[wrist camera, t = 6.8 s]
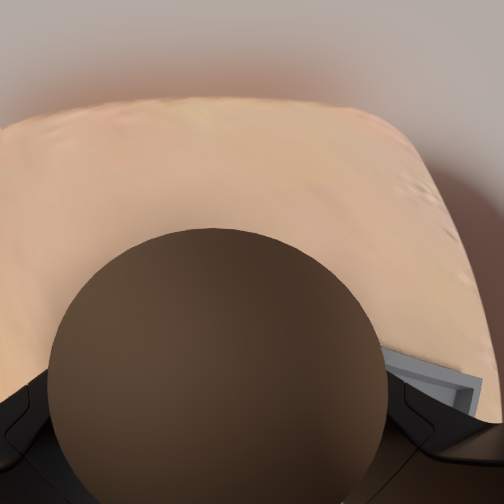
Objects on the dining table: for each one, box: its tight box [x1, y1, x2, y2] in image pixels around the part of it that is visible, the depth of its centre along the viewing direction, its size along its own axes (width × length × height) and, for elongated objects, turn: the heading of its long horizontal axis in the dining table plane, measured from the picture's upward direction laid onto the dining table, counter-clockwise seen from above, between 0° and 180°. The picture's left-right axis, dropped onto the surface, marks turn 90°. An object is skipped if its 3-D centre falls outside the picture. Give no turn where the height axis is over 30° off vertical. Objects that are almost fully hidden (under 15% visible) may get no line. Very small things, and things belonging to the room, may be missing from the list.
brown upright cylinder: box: [47, 228, 388, 504], centre depth 9 cm, size 5×5×11 cm
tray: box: [341, 347, 483, 504], centre depth 15 cm, size 18×16×3 cm
